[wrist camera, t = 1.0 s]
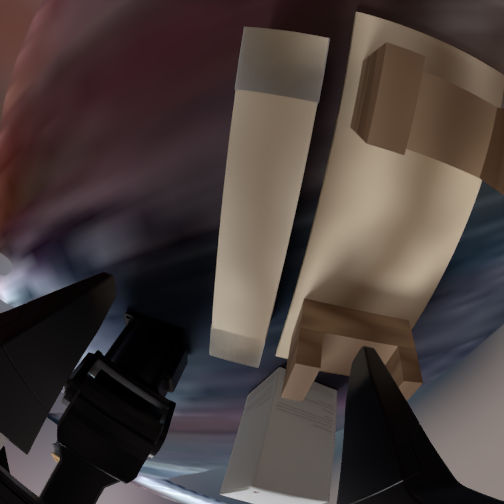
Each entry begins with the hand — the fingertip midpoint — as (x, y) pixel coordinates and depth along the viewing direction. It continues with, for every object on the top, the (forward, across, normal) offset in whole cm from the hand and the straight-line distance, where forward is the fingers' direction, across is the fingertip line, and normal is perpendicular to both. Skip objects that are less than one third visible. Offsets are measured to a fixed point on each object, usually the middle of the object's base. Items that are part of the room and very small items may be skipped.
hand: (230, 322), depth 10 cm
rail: (+11, 0, 0) cm, 11 cm away
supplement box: (+11, -6, +20) cm, 24 cm away
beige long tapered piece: (+11, -8, 0) cm, 13 cm away
